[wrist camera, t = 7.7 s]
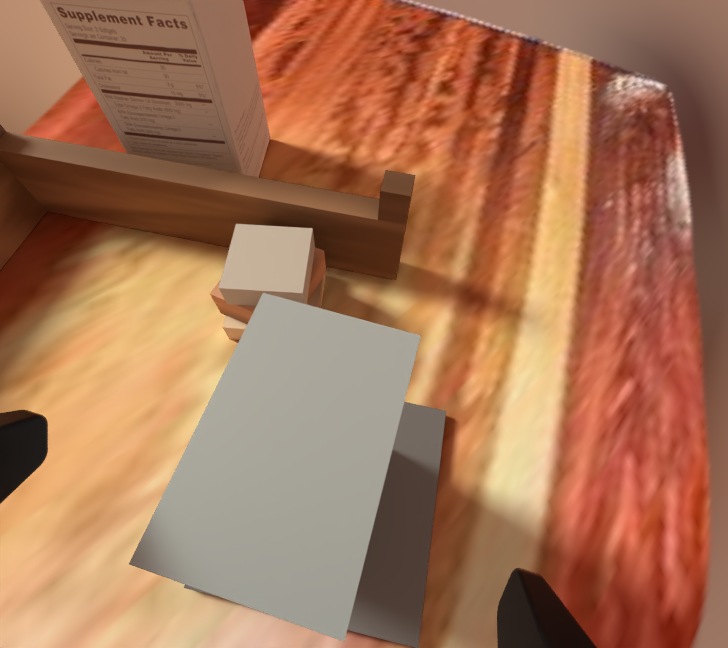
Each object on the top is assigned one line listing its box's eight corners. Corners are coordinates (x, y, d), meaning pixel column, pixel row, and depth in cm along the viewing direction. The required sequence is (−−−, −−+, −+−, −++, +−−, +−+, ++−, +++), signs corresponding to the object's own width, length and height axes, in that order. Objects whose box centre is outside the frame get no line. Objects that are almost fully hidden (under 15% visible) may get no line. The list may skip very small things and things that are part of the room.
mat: (416, 645, 17) (418, 648, 16) (188, 586, 17) (183, 587, 17) (443, 414, 22) (446, 410, 21) (264, 375, 22) (261, 371, 22)
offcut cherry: (284, 340, 22) (278, 323, 20) (221, 313, 22) (210, 293, 21) (326, 272, 24) (324, 250, 22) (267, 249, 25) (261, 226, 23)
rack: (334, 567, 18) (327, 579, 12) (-171, 441, 20) (-404, 396, 14) (399, 261, 26) (415, 175, 20) (40, 192, 28) (-47, 94, 22)
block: (346, 582, 17) (344, 641, 7) (259, 552, 18) (128, 564, 7) (382, 444, 20) (421, 335, 10) (306, 421, 20) (263, 292, 10)
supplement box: (180, 129, 32) (90, -92, 21) (273, 138, 32) (233, -79, 21) (147, 197, 28) (17, -27, 17) (251, 207, 28) (189, -11, 17)
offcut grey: (306, 309, 20) (302, 293, 19) (227, 304, 20) (218, 288, 19) (314, 246, 22) (312, 228, 21) (242, 242, 22) (236, 223, 21)
